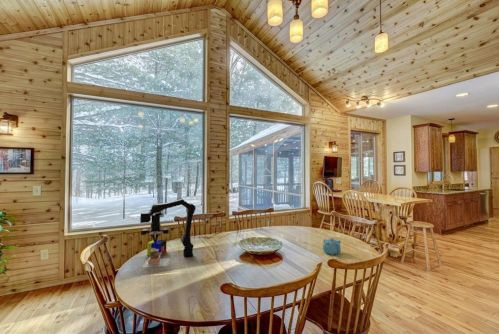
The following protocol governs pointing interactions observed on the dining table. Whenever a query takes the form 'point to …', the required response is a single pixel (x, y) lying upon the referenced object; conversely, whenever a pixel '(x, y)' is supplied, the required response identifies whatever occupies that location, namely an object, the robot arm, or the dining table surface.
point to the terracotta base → (153, 260)
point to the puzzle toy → (157, 246)
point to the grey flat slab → (162, 263)
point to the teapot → (331, 246)
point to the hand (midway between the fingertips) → (155, 243)
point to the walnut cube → (154, 253)
